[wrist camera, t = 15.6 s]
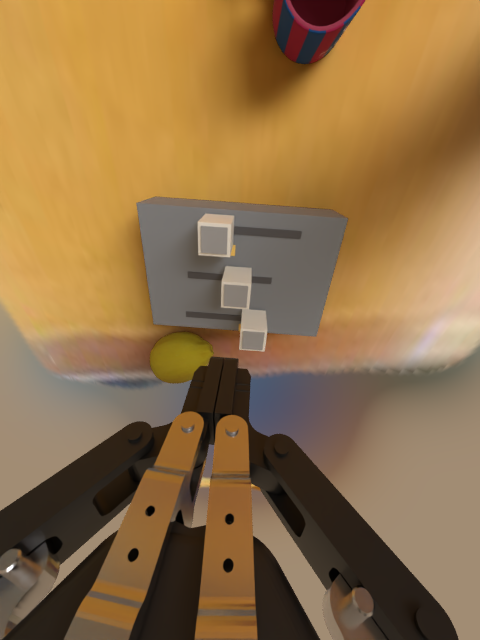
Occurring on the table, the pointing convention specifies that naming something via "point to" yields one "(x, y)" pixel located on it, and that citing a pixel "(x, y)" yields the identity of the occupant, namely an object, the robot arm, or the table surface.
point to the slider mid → (236, 287)
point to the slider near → (215, 235)
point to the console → (240, 263)
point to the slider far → (253, 330)
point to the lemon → (179, 356)
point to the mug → (311, 26)
